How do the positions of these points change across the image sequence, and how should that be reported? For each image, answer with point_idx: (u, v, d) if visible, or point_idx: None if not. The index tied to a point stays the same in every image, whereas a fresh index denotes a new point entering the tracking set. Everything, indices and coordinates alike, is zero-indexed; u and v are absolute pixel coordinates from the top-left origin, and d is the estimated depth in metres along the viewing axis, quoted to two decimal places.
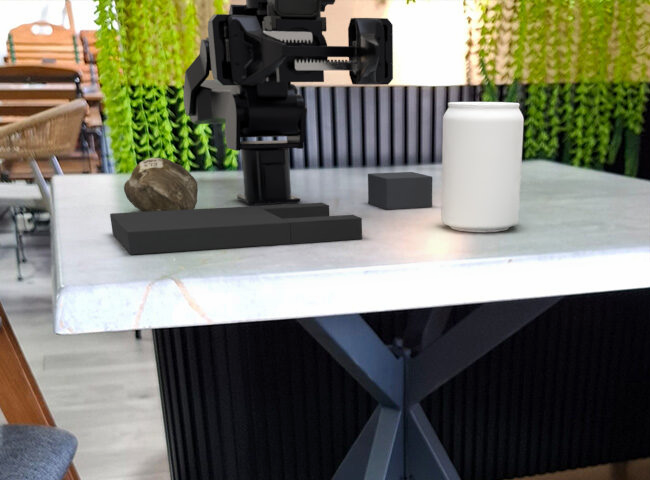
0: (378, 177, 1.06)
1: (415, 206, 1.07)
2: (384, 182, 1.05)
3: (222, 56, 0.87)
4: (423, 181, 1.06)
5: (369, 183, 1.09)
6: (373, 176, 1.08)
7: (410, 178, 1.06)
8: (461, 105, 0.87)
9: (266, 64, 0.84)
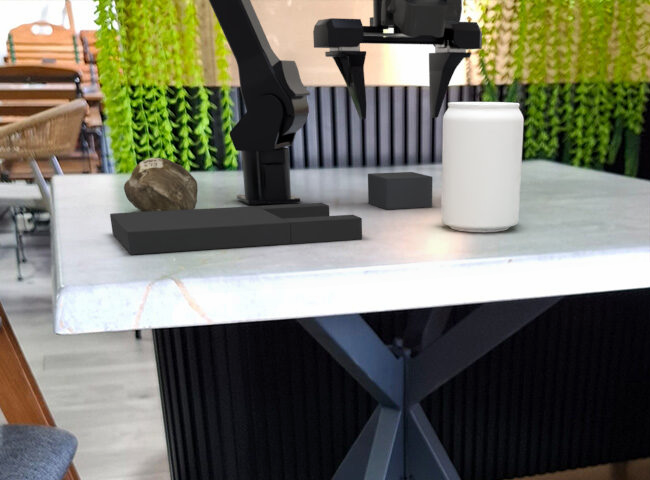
0: (378, 177, 1.06)
1: (415, 206, 1.07)
2: (384, 182, 1.05)
3: None
4: (423, 181, 1.06)
5: (369, 183, 1.09)
6: (373, 176, 1.08)
7: (410, 178, 1.06)
8: (461, 105, 0.87)
9: (350, 92, 1.03)
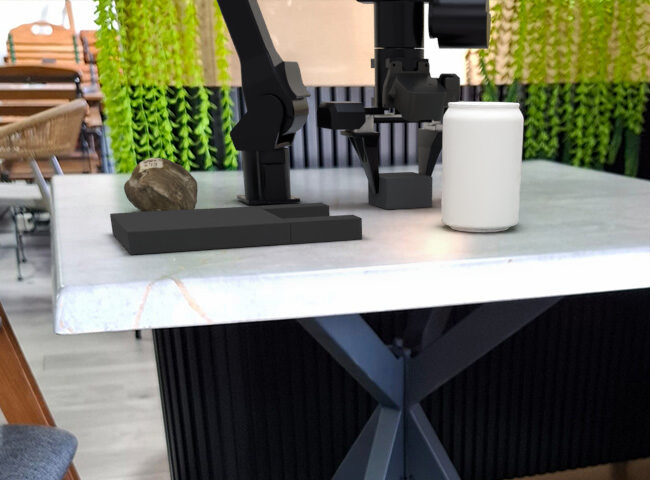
0: None
1: (415, 206, 1.07)
2: (384, 182, 1.05)
3: None
4: (424, 181, 1.06)
5: None
6: None
7: (410, 178, 1.06)
8: (461, 105, 0.87)
9: (364, 168, 1.07)
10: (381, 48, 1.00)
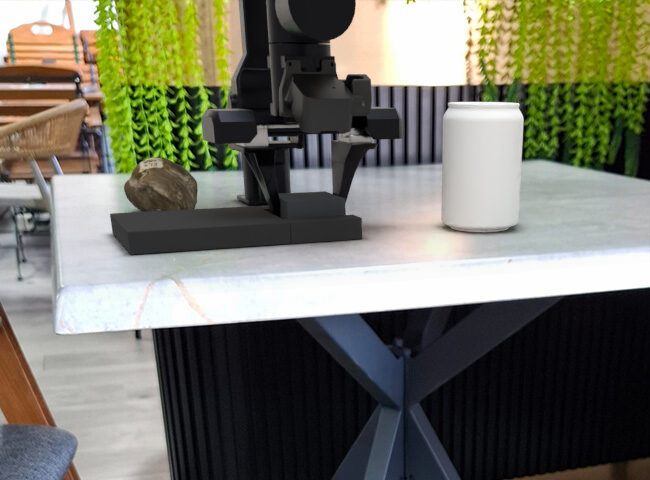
0: (279, 199, 0.88)
1: None
2: (285, 205, 0.86)
3: None
4: (334, 203, 0.88)
5: None
6: None
7: (317, 200, 0.87)
8: (461, 105, 0.87)
9: (262, 189, 0.89)
10: (275, 43, 0.82)
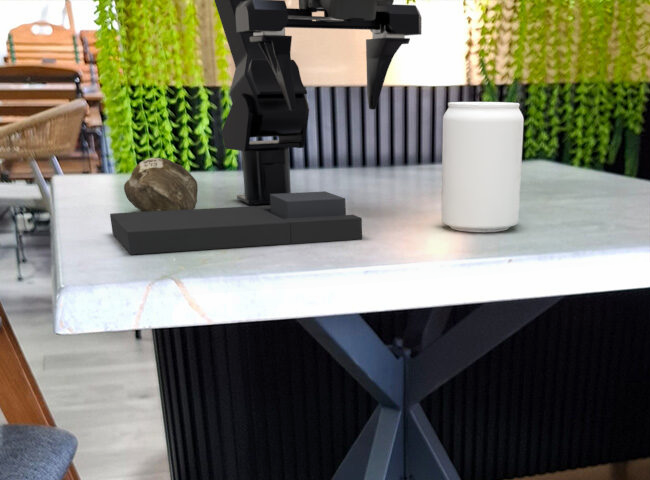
0: (279, 199, 0.88)
1: None
2: (285, 205, 0.86)
3: (248, 31, 0.91)
4: (334, 203, 0.88)
5: (271, 205, 0.91)
6: (275, 197, 0.89)
7: (317, 200, 0.87)
8: (461, 105, 0.87)
9: (278, 81, 0.95)
10: None
